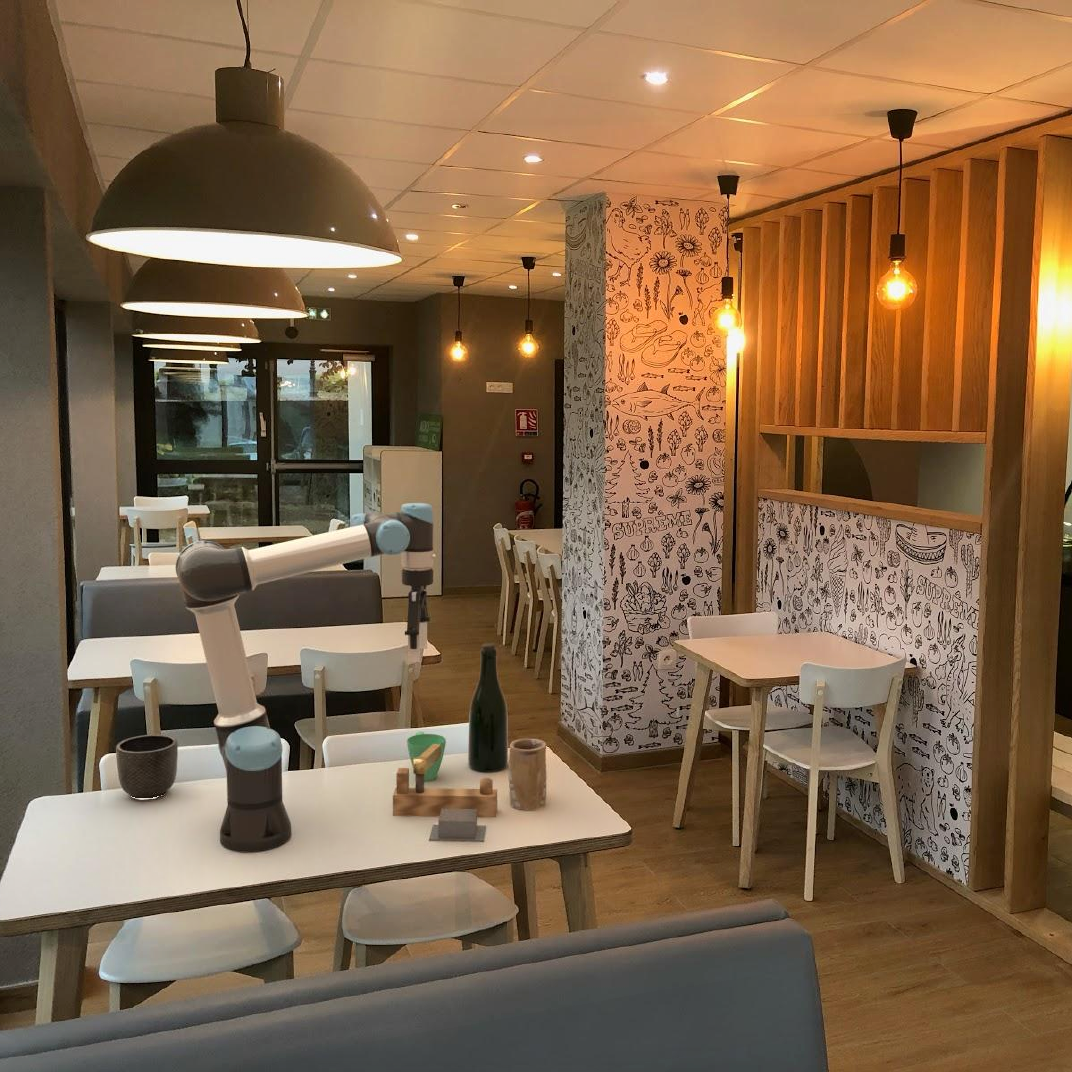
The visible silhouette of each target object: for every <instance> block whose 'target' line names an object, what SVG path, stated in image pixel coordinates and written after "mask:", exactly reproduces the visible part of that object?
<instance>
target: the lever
mask: <svg viewBox="0 0 1072 1072" xmlns="http://www.w3.org/2000/svg"><path fill="white" fill-rule="evenodd" d="M440 757H441V745H440V744H432V745H431V746H430V747H429V748H428V749H427V750H426V751H425V752H424V753H423V754H422V755H420V756H419V757H416V758H414V759H413V766H412V772H413V774H414V775H416V774H418V775H420V774H425V773H426V771H427V770H428V769H429V768H430V767H431V766H432V765H433V764H434V763H435V762H436V761H437V760H438V759H439V758H440Z"/></svg>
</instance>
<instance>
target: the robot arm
mask: <svg viewBox="0 0 1072 1072" xmlns="http://www.w3.org/2000/svg"><path fill="white" fill-rule="evenodd" d="M433 511H434V509H433V507H432V505H431V504H430V503H425V502H411V503H409V502H408V503H406V502H405V503H403V504H402V505H401V509H400V511H397V512H377V513H376V512H374V513H372V512H371V513H370V512H365V513H364V512H363V513H355V514H353V515H352V516H351V518H350V519H351V520H350V524H349V525H350V526H349V527H345V528H341V529H337V530H332V531H328V532H324V533H319V534H316V535H314V534H313V535H310V536H306V537H301V538H295V539H293V540H292V539H291V540H287V541H284V542H278V543H275V544H274V543H273V544H271V545H266V546H261V547H258V548H252V549H247V548H245V547H243V546H240V547H235V548H231V549H230V548H228V549H226V548H225V547H223V546H222V545H221V544H219V543H217V542H215V541H209V540H198V541H194V542H192V543H190V544H187V546H185V547H184V548H183V549H182V550H181V551H180V553H179V554H178V557H177V558H176V562H175V573H176V576H177V579H178V580H179V585H180V589H181V594H182V597H183V601H184V605H185V608H186V609H187V610H188V611H190V612H192V613H193V614H194V617H195V619H196V623H197V628H198V632H199V637H200V641H201V645H202V649H203V653H204V657H205V661H206V665H207V669H208V674H209V678H210V683H211V686H212V690H213V695H214V698H215V703H216V706H217V710H218V714H217V715H216V717H215V718H214V720H213V723H214V724H213V725H214V728H215V732H216V738H217V741H218V744H217V746H218V749H219V753H220V756H221V757H222V761H223V764H224V767H225V772H226V773H225V774H226V796H227V797H226V798H227V799H226V800H227V802H226V803H227V806H226V811H225V813H224V817H223V820H222V822H221V826H220V830H219V842H220V845H221V846H223V848H226V849H227V850H230V851H234V852H247V853H248V852H249V853H250V852H252V853H253V852H262V851H266V850H271V849H274V848H277V847H279V846H281V845H283V844H285V843H286V842H288V841H289V840H290V839H291V837H292V824H291V820H290V817H289V815H288V812H287V808H286V807H285V805H284V801H283V799H284V798H283V766H282V765H283V764H282V763H283V759H282V755H283V743H282V738H281V736H280V734H279V733H278V732H277V731H276V730H274V729H272V728H271V727H270V723H269V718H268V715H267V710H266V708H265V706H264V705H261V704H260V703H258V702H257V701H258V700H257V697H256V693H255V689H254V684H253V681H252V676H251V671H250V667H249V664H248V659H247V655H246V651H245V646H244V645H245V644H244V641H243V638H242V632H241V628H240V625H239V621H238V616H237V611H236V608H235V604H236V602H237V600H238V598H239V597H240V595H241V594H244V593H248V592H249V593H250V592H252V591H254V590H255V589H256V587H257V586H258V585H261V584H266V583H269V582H273V581H279V580H282V579H286V578H290V577H294V576H298V575H302V574H306V573H311V572H315V571H319V570H323V569H327V568H331V567H335V566H336V567H337V566H339V565H344V564H347V563H348V564H349V563H351V562H352V563H353V562H357V561H360V560H364V559H368V558H374V557H378V556H381V555H388V556H396V555H399V554H401V555H400V556H401V559H400V560H401V564H400V565H401V567H402V570H401V584H402V585H403V586H408V587H409V586H410V587H411V588H410V589H411V590H410V591H409V592H408V597H407V598H408V607H407V608H408V609H407V620H406V621H407V625H406V626H407V627H406V630H405V631H404V636H407V663H420V662H421V649H425V650H426V649H428V623H429V622H431V617H430V616H429V613H428V612H429V611H428V599H427V598H428V597H427V596H428V592H427V587H428V586H430V585H433V584H434V569H433V568H432V567H433V566H434V559H436V557H437V556H436V554H435V553H434V524H435V521H434V512H433Z"/></svg>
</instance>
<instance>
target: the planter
mask: <svg viewBox="0 0 1072 1072" xmlns="http://www.w3.org/2000/svg"><path fill="white" fill-rule="evenodd" d="M178 746H179V745H178V739H177V738H176V737H174V736H171V735H168V734H145V735H144V734H143V735H138V736H134V737H133V736H132V737H129V738H126V739H124V740H122V741H120V742H118V743H117V744H116V745H115V755H116V757H115V758H116V766H117V774H118V775H117V776H118V780H119V783H120V787H121V789H122V790H123V791H124V792H125V793H126V794H128V795H129V797H131V796H132V797H135V798H153V797H157V796H161V795H164V794H165V793H166V794H167V792H168V791H169V790H170V789H171V788H172V787H173V785H174V783H175V782H176V778H177V771H178V751H179V749H178ZM166 794H165V795H166ZM165 795H164V796H165ZM132 797H131V798H132Z"/></svg>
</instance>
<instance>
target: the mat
mask: <svg viewBox="0 0 1072 1072" xmlns="http://www.w3.org/2000/svg"><path fill="white" fill-rule="evenodd" d="M486 829H487V825H484V824H483V825H482V824H477V829H476V835H475V839H443V838H438V824H432V828H431V831H430V834H429V838H428V841H429V842H467V843H468V842H474V843H475V842H476V843H484V842H485V835H486Z"/></svg>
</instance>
